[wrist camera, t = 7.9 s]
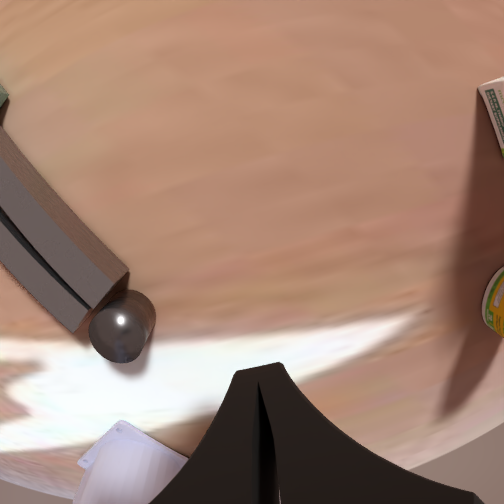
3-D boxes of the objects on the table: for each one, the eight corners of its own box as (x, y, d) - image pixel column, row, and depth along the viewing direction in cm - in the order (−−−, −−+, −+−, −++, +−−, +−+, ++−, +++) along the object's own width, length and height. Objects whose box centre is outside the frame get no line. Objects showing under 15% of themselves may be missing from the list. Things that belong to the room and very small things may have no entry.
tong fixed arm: (119, 366, 19) (103, 395, 16) (-67, 163, 14) (-93, 166, 11) (165, 312, 18) (153, 339, 15) (-40, 103, 14) (-67, 99, 10)
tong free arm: (149, 246, 17) (135, 258, 14) (109, 292, 17) (93, 309, 15) (-17, 61, 13) (-38, 54, 10) (-44, 105, 13) (-65, 102, 11)
